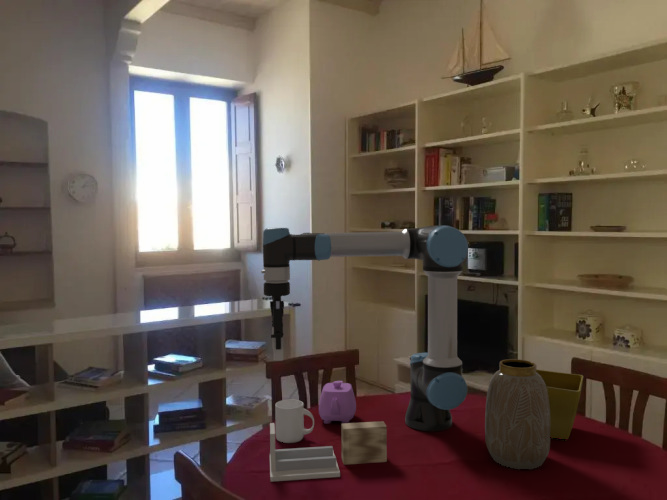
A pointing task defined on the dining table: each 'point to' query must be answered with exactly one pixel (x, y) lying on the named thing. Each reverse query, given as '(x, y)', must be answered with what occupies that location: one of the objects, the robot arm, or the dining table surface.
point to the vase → (518, 416)
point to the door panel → (364, 442)
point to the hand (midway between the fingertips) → (277, 354)
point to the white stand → (301, 462)
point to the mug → (291, 421)
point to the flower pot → (562, 400)
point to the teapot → (337, 402)
